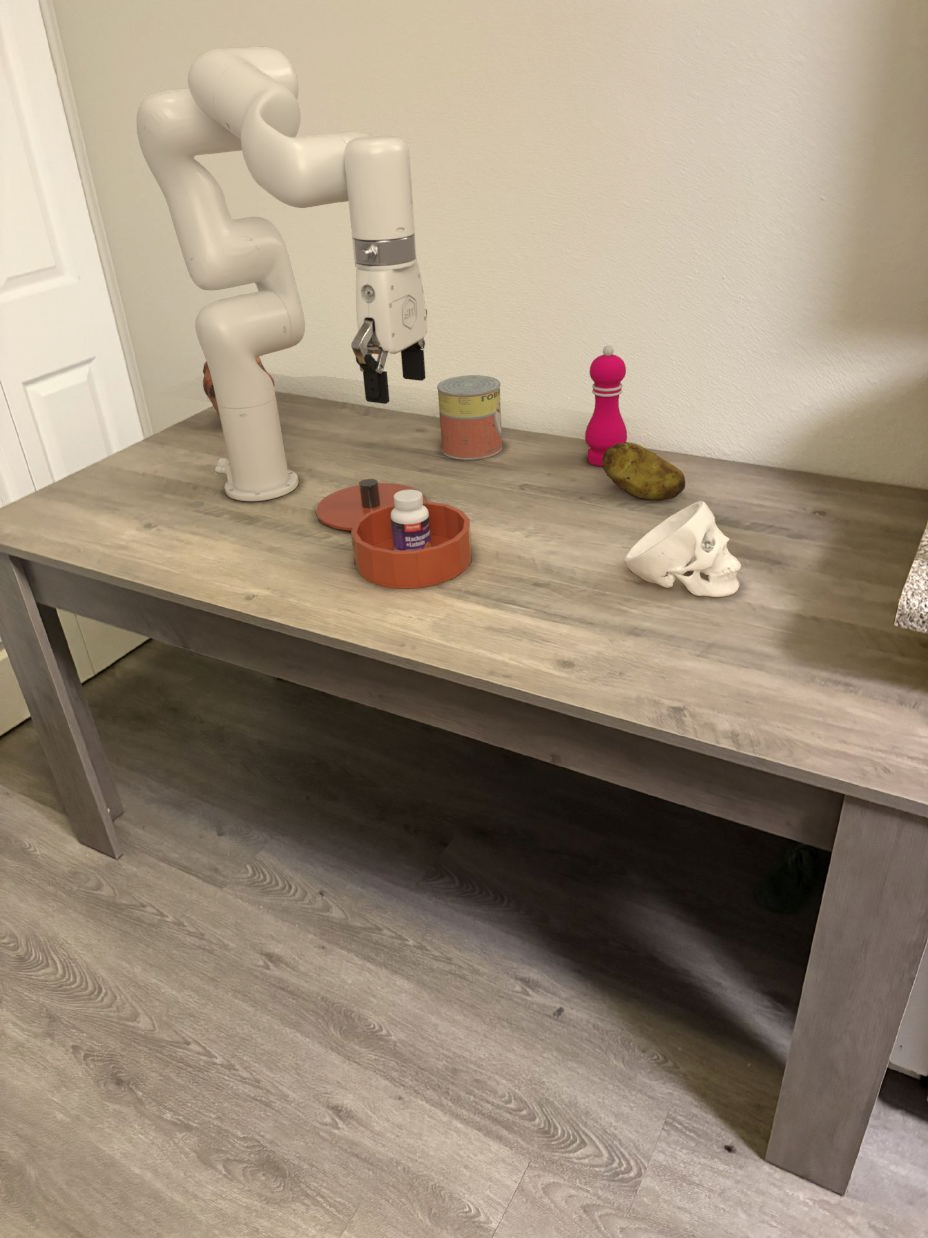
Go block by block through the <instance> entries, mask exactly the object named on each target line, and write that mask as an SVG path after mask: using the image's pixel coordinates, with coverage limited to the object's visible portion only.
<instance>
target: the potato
mask: <svg viewBox="0 0 928 1238" xmlns="http://www.w3.org/2000/svg"><path fill="white" fill-rule="evenodd" d="M602 464H603V471H604V473H605V474H606V476H607V477H608V478H609V479H610V480H611V481H612V482H613V484H615V485H616V486H617V487H619V488H622V489H623V490H625V491H626V492H627V493H629V494H630V495H632V496H634V497H636V498H638V499H644V500H666V499H669V498H674V497H676V496H678V495H679V494H681V493H682V492H683V491H684V490H685V488H686V478H685V474H684V473H683V471H682V470H681V469H679V468H678V467H677V466H675V465H674V464H673V463H671V462H669V461H668V460H666V459H664V458H662V457H660V456H659V455H657V454H656V453H654V452H652V451H650V450H649V449H647V448H645V447H644V446H642V445H640V444H638V443H636V442H635V443H634V442H627V441H626V442H624V443H617V444H616V445H614V446H612V447H610V448H609V449H608V450H607V451H606V452H605V453H604V455H603V457H602Z"/></svg>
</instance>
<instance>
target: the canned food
mask: <svg viewBox="0 0 928 1238" xmlns="http://www.w3.org/2000/svg"><path fill="white" fill-rule="evenodd" d="M436 389H437V398H438V411H439V426H440V441H441V442H440V443H441V453H442V454H443V455H444V456H446V457H448V458H450V459H453V460H461V461H476V460H483V459H488V458H491V457H494V456H496V455H497V454H499V453H501V452H502V450H503V438H502V434H503V433H502V406H501V405H502V404H501V381H500V380H498V379H497V378H495V377H492V376H489V375H480V374H479V375H478V374H477V375H476V374H475V375H474V374H471V375H469V374H468V375H460V376H454V377H449V378H446V379H443V380H442V381H440V382H438V384H437V386H436Z"/></svg>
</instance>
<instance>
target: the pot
mask: <svg viewBox="0 0 928 1238" xmlns="http://www.w3.org/2000/svg"><path fill="white" fill-rule="evenodd" d="M423 506H425V507H426V508H427V509H428V512H429V524H430V538H431V547H429V548H424V549H419V550H401V551H394V545H393V535H392V525H391V512H392V510H393V509H394V508H395V505H389V506H384V507H381V508H379V509H376V510H374V511H371V512H369V513H366V514H365V515H364V516H362V517H361V518H360V519H359V520H357V521H356V522H355V523H354V526H353V529H352V531H350V536H351V543H352V550H353V559H354V564H355V566H356V569H357V571H358V574H359V575H360V576H361V577H362V578H363V579H364V580H366V581H368V582H370V583H372V584H374V585H378V586H380V587H385V588H391V589H419V588H427V587H431V586H436V585H440V584H443V583H446V582H449V581H451V580H452V579H454V578H456V577H458V576H459V575H461V574H463V572H464V571H466V570H467V568H468V567H469V566H470V564H471V561H472V549H473V548H472V535H471V534H472V533H471V532H472V531H471V519H470V518H469V517H468V516H467V514H466V513H465V512H464V511H463V510H462V509H459V508H457V507H454V506H452V505H449V504H445V503H440V502H432V501H426V502H423Z"/></svg>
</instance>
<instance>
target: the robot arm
mask: <svg viewBox="0 0 928 1238" xmlns="http://www.w3.org/2000/svg"><path fill="white" fill-rule="evenodd" d="M187 74H188V75H187V85H188V87H185V88H184V87H183V88H182V87H181V88H172V89H166V90H161V91H158V92H154V93H152V94H150V95H148V96H147V97H146V98H144V99H143V100H142V101H141V102H140V104H139V106H138V109H137V113H136V134H137V139H138V144H139V147H140V150H141V154H142V155H143V157H144V160H145V162H146V165H147V166H148V169H149V170H150V172H151V174H152V175H153V177H154V179H155V181H156V182H157V184H158V186H159V188H160V190H161V192H162V195H163V197H164V199H165V202H166V205H167V207H168V211H169V214H170V218H171V221H172V224H173V227H174V230H175V234H176V237H177V241H178V244H179V247H180V251H181V254H182V257H183V261H184V263H185V267H186V269H187V272H188V274H189V277H190V278H191V281H192V282H193V283H194V284H195V286H196V287H198V288H199V289H201V290H203V291H220V290H225V289H231V288H236V287H240V286H245V285H250V284H255V286H256V289H257V291H254V292H250V293H246V294H245V293H243V294H238V295H233V296H230V297H225V298H221V299H218V300H215V301H212V302H210V303H208V304H206V305H205V306H203V307H202V308H201V309H200V310H199V312H198V313H197V315H196V318H195V323H194V325H195V326H194V327H195V333H196V337H197V340H198V342H199V345H200V347H201V351H202V353H203V355H204V358H205V362H206V361H207V364H208V367H209V370H210V374H211V378H212V382H213V386H214V391H215V396H216V401H217V405H218V410H219V415H220V417H219V419H220V425H221V431H222V434H223V435H222V436H223V440H224V446H225V451H226V455H227V457H220V458H218V461H217V465H216V466H215V468H214V469H215V470H214V471H215V473H216V474H221V475H226V479H227V481H226V482H225V484H224V492H225V495H226V496H227V497H228V498H230V499H232V500H235V501H241V502H263V501H269V500H273V499H277V498H281V497H283V496H285V495H288V494H290V493H291V492H293V491H294V490H295V489H297V487H298V485H299V476H298V474H297V473H296V472H295V471H293V470H291V469H288V464H287V457H286V452H285V451H286V450H285V446H284V441H283V439H284V438H283V433H282V432H283V431H282V427H281V421H280V414H279V409H278V403H277V395H276V391H275V385H274V386H273V383H272V381H271V379H270V377H269V376H268V375H267V373H266V372H265V371H264V370H263V369H262V368H261V367H260V366H259V365H258V364H257V363H256V361H255V359H256V358H257V357H259V358H260V357H262V356H265V355H268V354H273V353H275V352H279V351H280V352H281V351H283V350H288V349H290V348H293V347H295V346H297V345H298V344H299V343H300V342H302V340H303V338H304V336H305V332H306V321H305V314H304V310H303V305H302V301H301V297H300V293H299V290H298V286H297V283H296V278H295V275H294V271H293V270H294V269H293V267H292V263H291V259H290V256H289V252H288V249H287V246H286V243H285V241H284V238H283V236H282V234H281V233H280V231H279V230H278V228H277V227H276V226H275V225H274V224H273V222H271V221H270V220H268V218H267V219H266V218H264V217H261V216H248V217H241V218H236V219H234V218H233V217H232V216H231V214H230V211H229V208H228V205H227V202H226V197H225V194H224V191H223V188H222V186H221V184H220V183H219V182H218V180H217V179H216V178H215V177H214V175H213V174H212V173H211V172H210V171H209V170H208V169H207V168H206V167H205V166H204V165H202V164H201V162H199V161H198V160H196V159H195V157H196V156H204V155H213V154H214V155H215V154H223V153H224V154H225V153H231V152H242V156H243V159H244V162H245V165H246V168H247V170H248V172H249V174H250V176H251V177H252V179H253V180H254V182H255V183H256V184H257V185H258V186H259V187H260V188H262V189H263V190H264V191H265V192H267V193H268V194H269V195H271V196H272V197H273V198H275V199H276V200H278V201H279V202H281V203H283V204H284V205H287V206H290V207H294V208H298V209H306V208H307V209H308V208H312V207H319V206H324V205H331V204H336V203H346V202H348V208H349V219H350V220H349V221H350V229H351V237H352V238H351V240H352V247H353V248H352V249H353V258H354V267H355V269H356V273H355V274H356V275H355V309H356V324H357V333H356V335H355V336H354V338H353V340H352V342H351V344H350V345H351V350H352V352H353V354H354V357H355V362H356V364H358V367H359V371H360V372H362V378H363V387H364V395H365V401H366V402H368V403H374V404H382V405H386V404H388V403H389V402H390V390H389V380H388V371H385V370H384V369H385V365H386V363H387V362H386V361H387V358H388V355H389V354H391V355H396V354H399V353H400V357H401V370H402V378H403V379H404V380H409V381H410V380H411V381H420V382H423V381H425V380H426V364H425V350H424V349H425V348H426V340H425V337H426V335H427V333H428V320H427V318H428V309H427V308H426V301H425V293H424V286H423V280H422V273H421V269H420V266H419V261H418V258H417V245H416V234H415V233H416V230H415V217H414V203H413V202H414V201H413V187H412V174H411V173H412V172H411V157H410V156H411V155H410V149H409V146H408V144H407V142H406V140H405V139H403V137H400V136H396V135H372V134H370V133H367V132H363V131H356V130H354V131H343V132H333V133H332V132H330V133H321V134H320V133H319V134H312V135H302V136H297V135H298V133H299V130H300V126H301V108H300V104H299V102H298V98H299V92H300V88H299V80H298V76H297V73H296V70H295V68H294V65H293V64H292V61H290V59H289V58H288V57H287V56H286V55H285V54H284V53H283V52H282V51H280V50H278V49H277V48H274V47H271V46H260V45H259V46H241V47H239V46H238V47H219V48H212V49H209V50H206V51H204V52H202V53H201V54H199V55H198V56H197V57H196V58H195V59H194V60H193V61H192V63H191V65H190V66H189V71H188V73H187ZM373 355H377V359H376V358H374V356H373ZM219 415H218V416H219Z"/></svg>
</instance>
